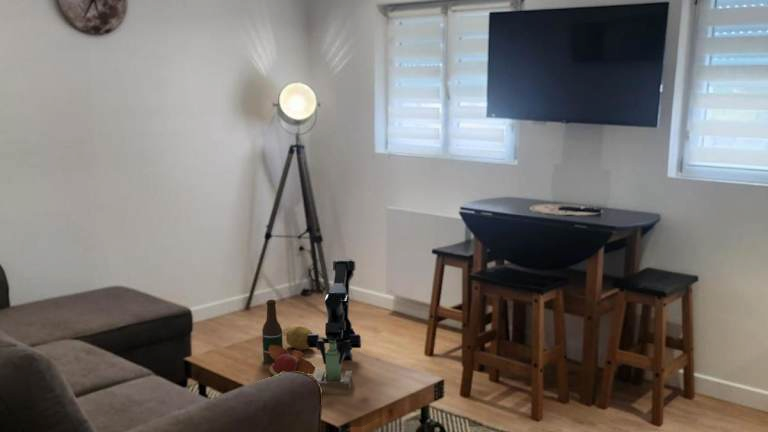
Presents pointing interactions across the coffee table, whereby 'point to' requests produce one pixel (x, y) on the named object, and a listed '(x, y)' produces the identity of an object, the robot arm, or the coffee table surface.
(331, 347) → the bottle
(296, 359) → the brown red lumpy cluster
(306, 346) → the potato
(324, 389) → the square wooden tray
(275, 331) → the beer bottle
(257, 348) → the coffee table surface
